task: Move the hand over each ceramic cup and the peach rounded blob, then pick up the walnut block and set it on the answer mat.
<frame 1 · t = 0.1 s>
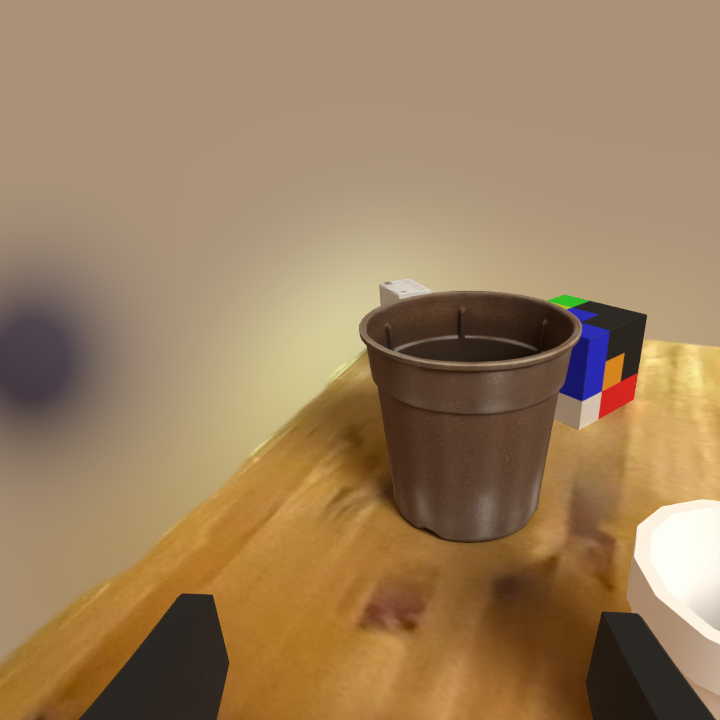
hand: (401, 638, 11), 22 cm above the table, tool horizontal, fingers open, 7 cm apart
plant pot: (462, 497, 49), on the table
skincare box: (407, 381, 70), on the table
puzzle toy: (566, 399, 64), on the table
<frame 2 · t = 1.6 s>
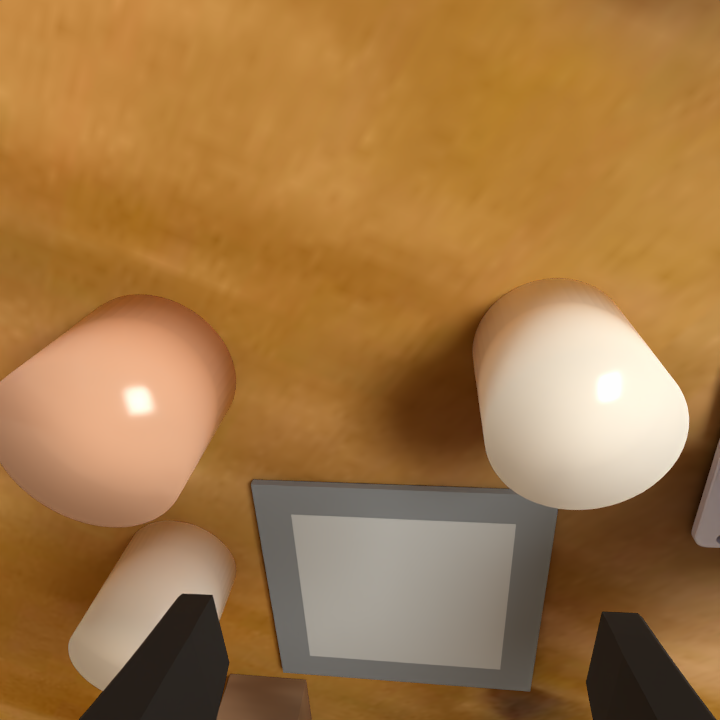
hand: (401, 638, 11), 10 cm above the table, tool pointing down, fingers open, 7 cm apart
walnut block: (272, 699, 30), on the table
answer mat: (402, 591, 25), on the table
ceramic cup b: (548, 349, 19), on the table
ceramic cup a: (182, 561, 26), on the table
peach rounded blob: (157, 369, 21), on the table
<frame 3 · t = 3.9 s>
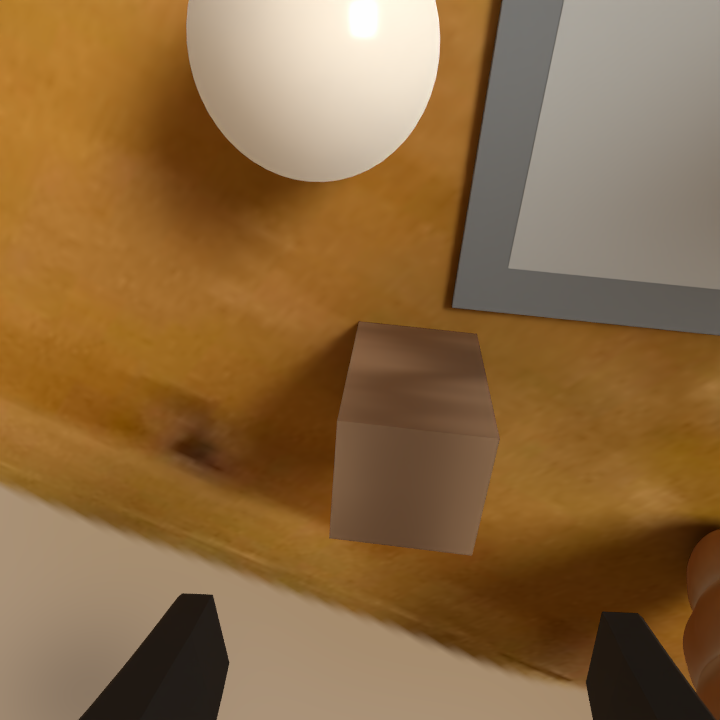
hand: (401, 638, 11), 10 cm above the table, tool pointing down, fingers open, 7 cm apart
walnut block: (410, 378, 20), on the table
answer mat: (704, 124, 15), on the table
cat ice cream: (718, 541, 23), on the table
ceramic cup a: (344, 51, 15), on the table
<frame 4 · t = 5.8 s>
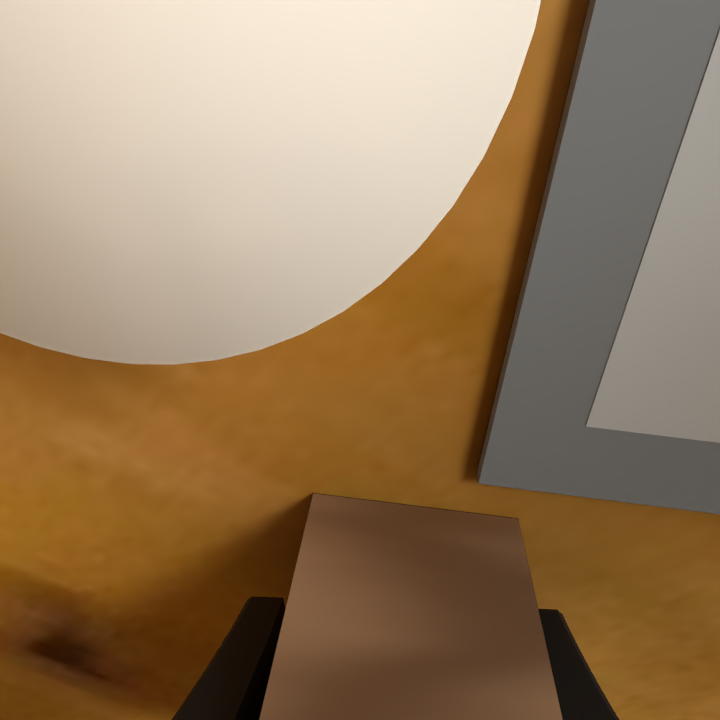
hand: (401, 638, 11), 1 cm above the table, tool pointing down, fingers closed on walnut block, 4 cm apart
walnut block: (402, 577, 12), on the table, touching gripper
ceramic cup a: (267, 8, 7), on the table
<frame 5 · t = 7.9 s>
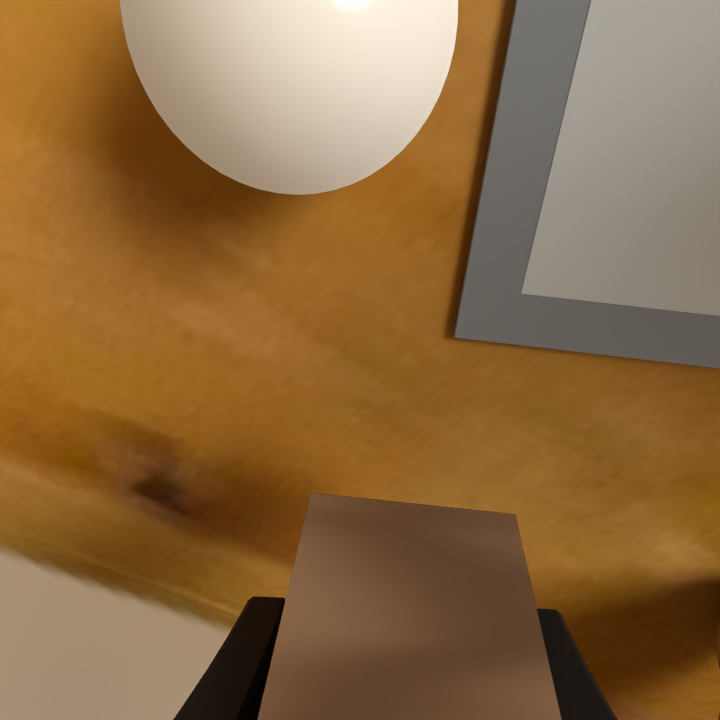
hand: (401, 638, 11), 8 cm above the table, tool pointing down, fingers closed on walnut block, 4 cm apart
walnut block: (402, 574, 12), point 6 cm above the table, touching gripper
ceramic cup a: (328, 32, 13), on the table
when the fingers open (6 cm above the table, at t = 9.9 s): walnut block drops 4 cm, resting on answer mat.
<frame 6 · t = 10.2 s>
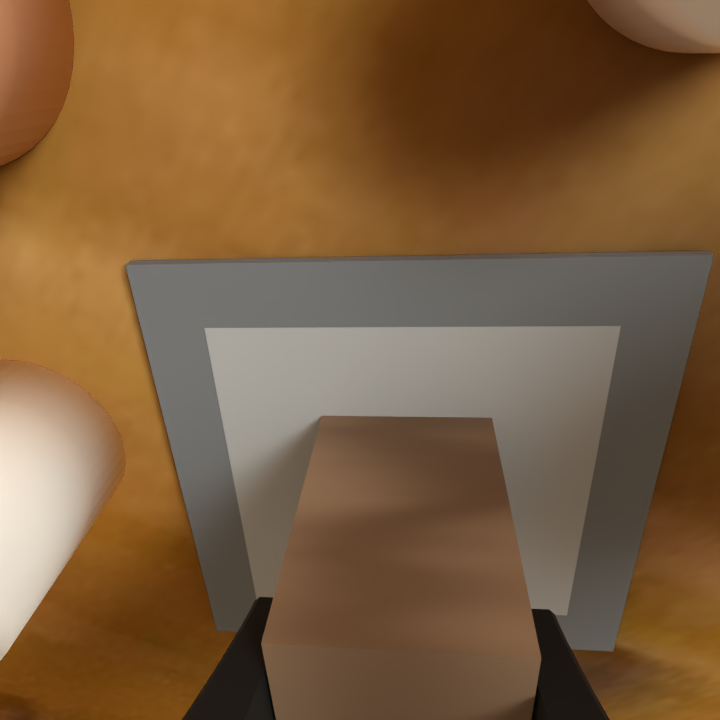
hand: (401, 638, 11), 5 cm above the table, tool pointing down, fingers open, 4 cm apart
walnut block: (406, 482, 14), resting on answer mat, touching gripper
answer mat: (406, 480, 15), on the table
ceramic cup a: (33, 441, 15), on the table
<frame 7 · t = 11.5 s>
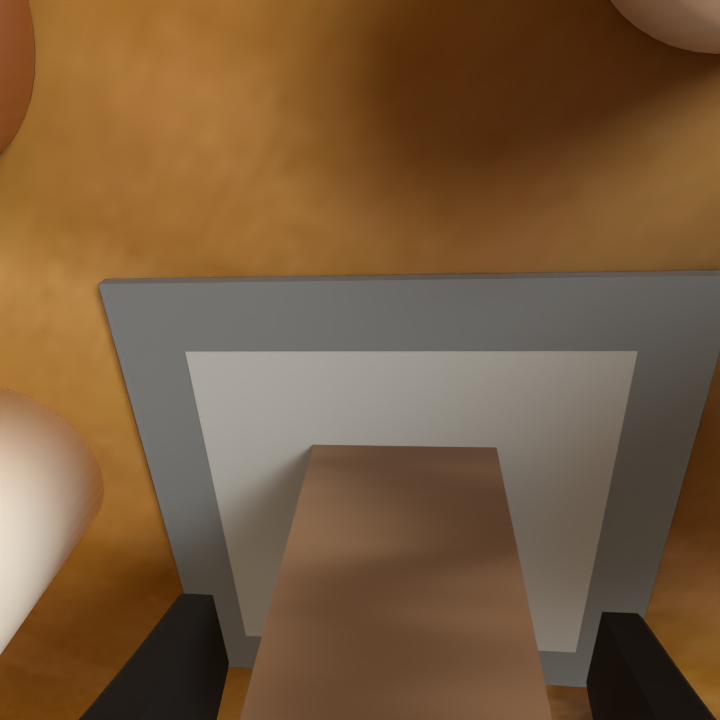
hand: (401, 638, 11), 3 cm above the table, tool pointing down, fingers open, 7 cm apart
walnut block: (404, 514, 13), resting on answer mat
answer mat: (404, 511, 14), on the table
ceramic cup a: (5, 469, 14), on the table
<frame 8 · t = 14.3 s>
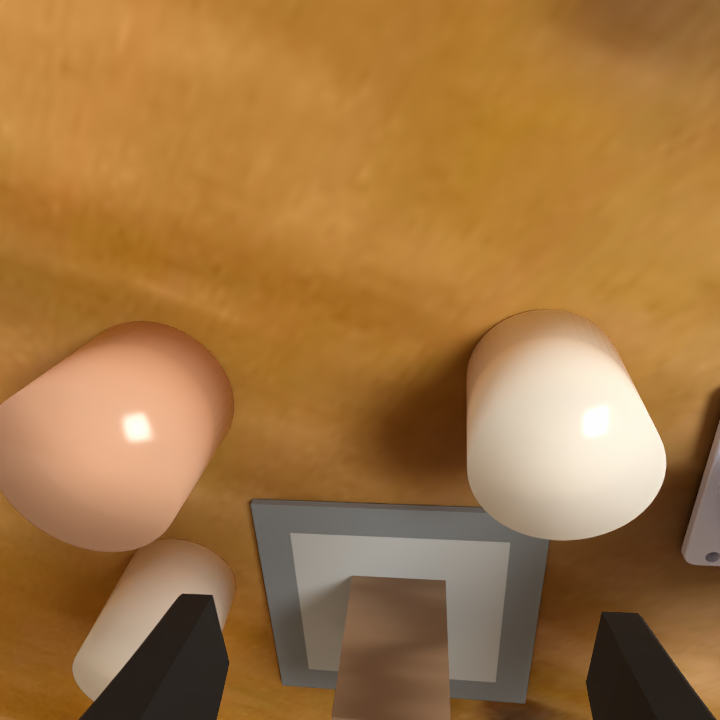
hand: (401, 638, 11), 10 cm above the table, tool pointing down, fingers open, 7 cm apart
walnut block: (399, 609, 25), resting on answer mat
answer mat: (399, 606, 25), on the table
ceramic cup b: (541, 376, 19), on the table
ceramic cup a: (183, 578, 26), on the table
peach rounded blob: (156, 395, 21), on the table
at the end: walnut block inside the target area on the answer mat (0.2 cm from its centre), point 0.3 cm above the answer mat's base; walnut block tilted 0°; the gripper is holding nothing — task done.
